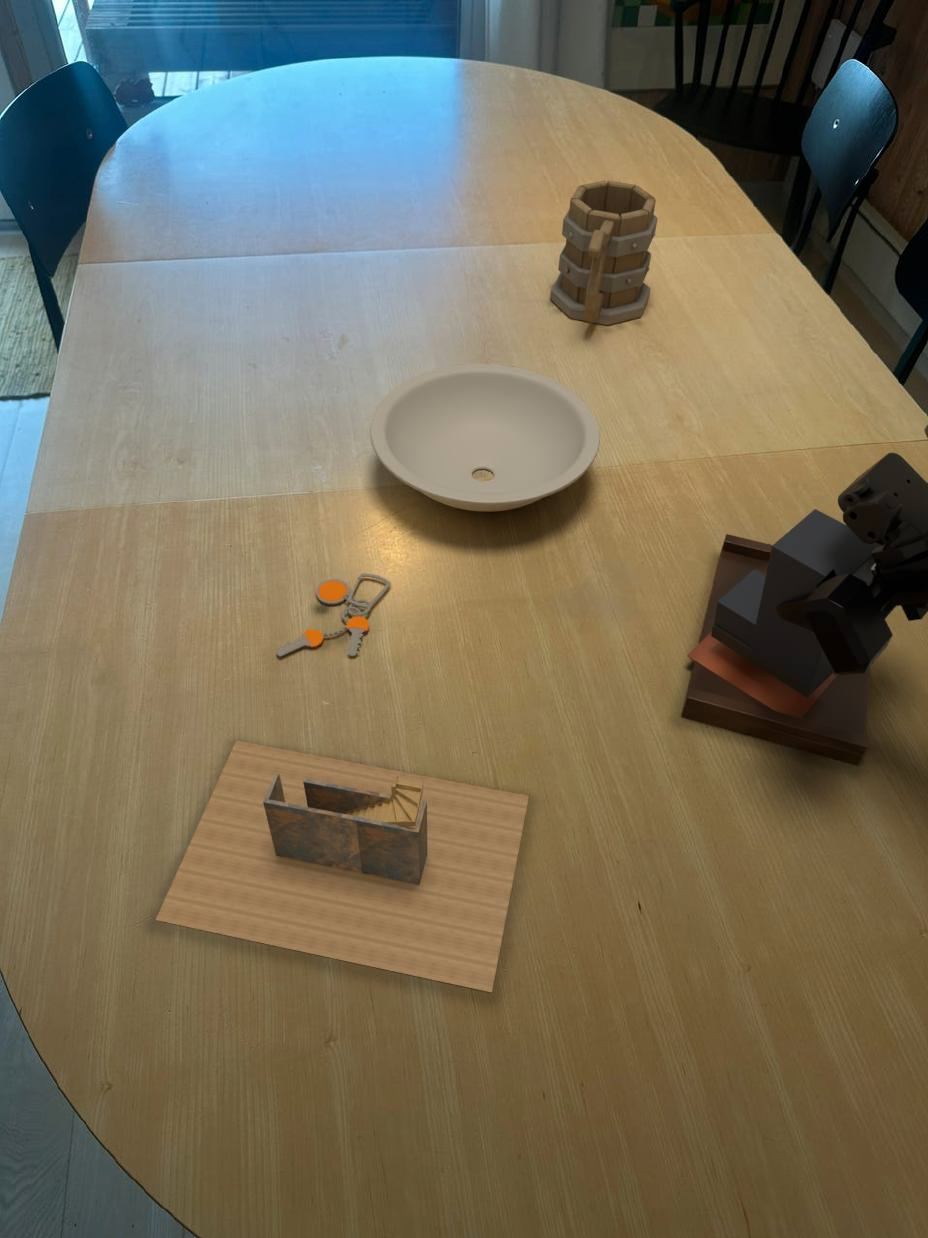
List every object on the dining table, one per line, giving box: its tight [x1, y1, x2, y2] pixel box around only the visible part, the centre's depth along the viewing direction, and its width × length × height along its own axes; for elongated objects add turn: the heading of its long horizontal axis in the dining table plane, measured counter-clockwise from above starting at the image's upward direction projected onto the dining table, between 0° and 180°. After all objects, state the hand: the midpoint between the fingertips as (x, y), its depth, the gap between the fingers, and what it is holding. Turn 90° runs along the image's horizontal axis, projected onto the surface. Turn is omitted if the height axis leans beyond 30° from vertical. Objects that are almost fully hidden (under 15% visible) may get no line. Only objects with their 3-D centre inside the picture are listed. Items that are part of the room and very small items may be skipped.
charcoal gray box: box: [711, 508, 883, 698], centre depth 79 cm, size 10×6×14 cm, turn 42°
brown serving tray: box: [680, 533, 873, 766], centre depth 89 cm, size 16×22×3 cm
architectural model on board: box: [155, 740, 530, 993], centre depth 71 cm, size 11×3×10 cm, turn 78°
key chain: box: [275, 572, 392, 658], centre depth 91 cm, size 13×7×1 cm, turn 158°
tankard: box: [549, 179, 658, 326], centre depth 124 cm, size 20×13×15 cm, turn 162°
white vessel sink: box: [369, 363, 601, 513], centre depth 103 cm, size 24×24×7 cm
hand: (799, 590), depth 79 cm, fingers closed on charcoal gray box, 6 cm apart
